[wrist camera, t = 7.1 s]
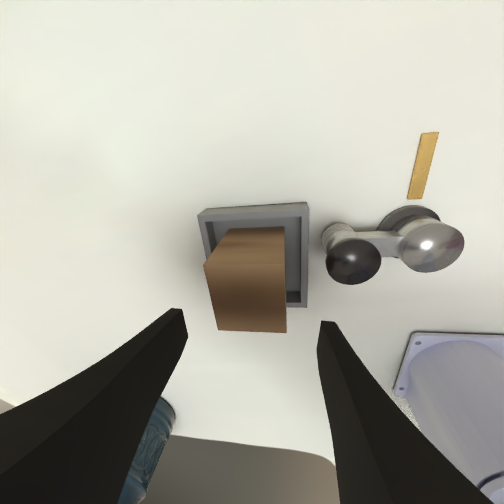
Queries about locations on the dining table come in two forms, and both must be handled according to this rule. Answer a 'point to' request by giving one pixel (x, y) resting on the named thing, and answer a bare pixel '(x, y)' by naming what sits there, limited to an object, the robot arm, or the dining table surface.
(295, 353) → the dining table surface
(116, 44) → the dining table surface
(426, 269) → the crank lever
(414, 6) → the dining table surface
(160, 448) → the canister
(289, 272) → the tray
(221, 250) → the block
